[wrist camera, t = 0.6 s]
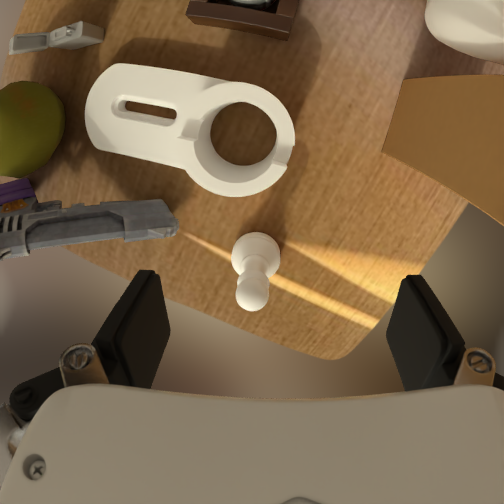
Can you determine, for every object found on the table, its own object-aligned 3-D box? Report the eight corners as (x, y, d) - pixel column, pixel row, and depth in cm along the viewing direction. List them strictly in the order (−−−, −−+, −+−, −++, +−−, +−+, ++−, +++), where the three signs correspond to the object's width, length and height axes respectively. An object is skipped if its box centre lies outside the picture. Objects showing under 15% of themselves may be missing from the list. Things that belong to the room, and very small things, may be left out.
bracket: (301, 102, 26) (310, 102, 20) (273, 187, 30) (274, 210, 24) (106, 62, 24) (69, 58, 18) (90, 141, 28) (54, 154, 22)
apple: (78, 166, 29) (13, 197, 20) (21, 161, 29) (-41, 189, 19) (84, 77, 25) (14, 77, 15) (24, 83, 24) (-43, 92, 15)
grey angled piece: (104, 27, 22) (60, 14, 15) (103, 41, 23) (58, 31, 16) (53, 43, 22) (6, 38, 15) (52, 56, 23) (4, 55, 16)
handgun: (150, 185, 40) (181, 249, 30) (-5, 203, 29) (-34, 278, 19) (152, 161, 38) (184, 218, 28) (-9, 179, 27) (-45, 248, 17)
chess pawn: (228, 234, 32) (214, 281, 24) (276, 227, 32) (277, 273, 24) (237, 275, 34) (228, 329, 26) (283, 270, 34) (285, 323, 26)
